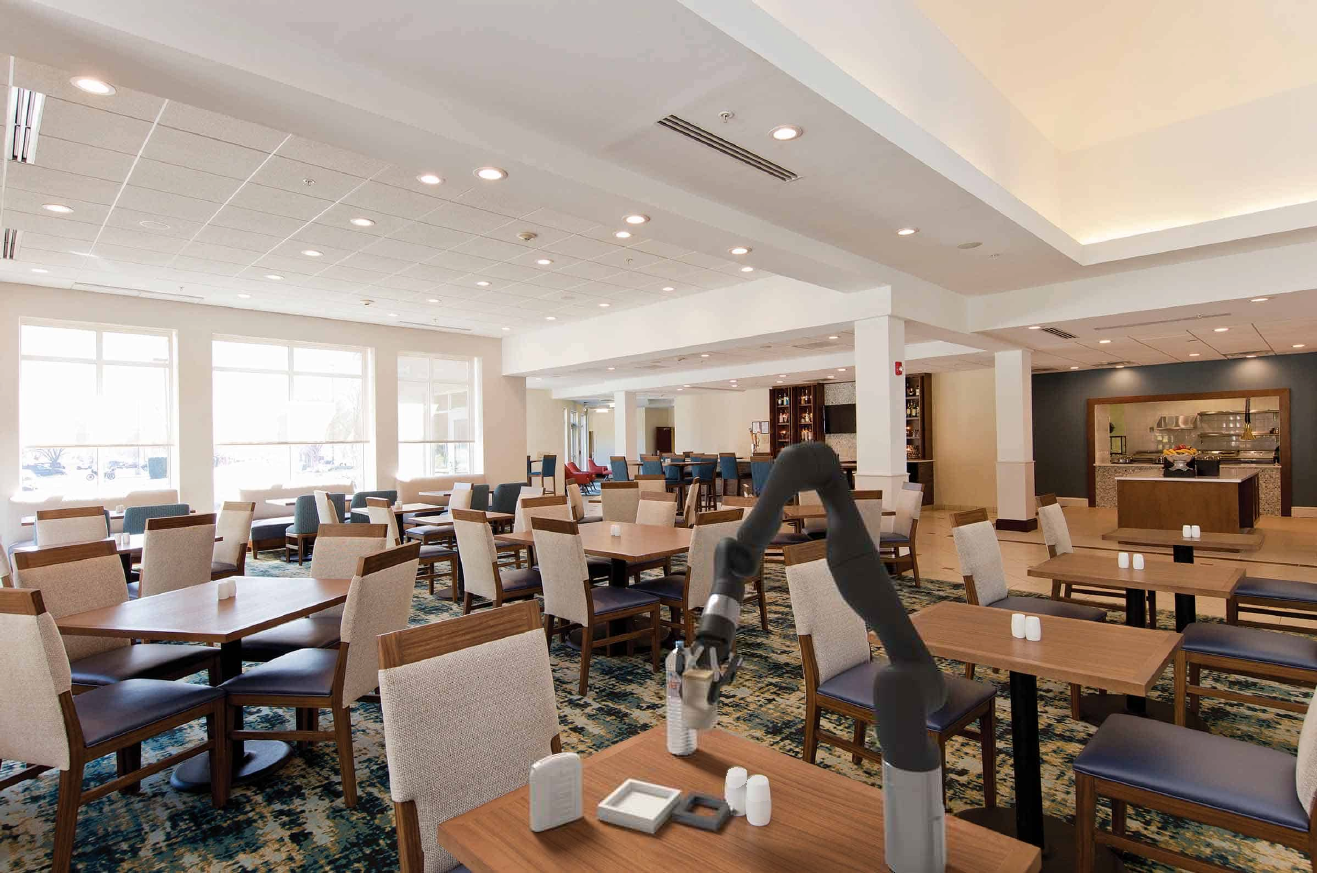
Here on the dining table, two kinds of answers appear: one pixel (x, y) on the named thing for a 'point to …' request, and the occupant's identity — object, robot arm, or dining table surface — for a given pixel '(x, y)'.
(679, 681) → the water bottle
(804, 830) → the dining table surface
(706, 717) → the key block
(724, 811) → the plate
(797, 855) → the dining table surface
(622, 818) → the tray
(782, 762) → the dining table surface
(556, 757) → the white rounded slab
